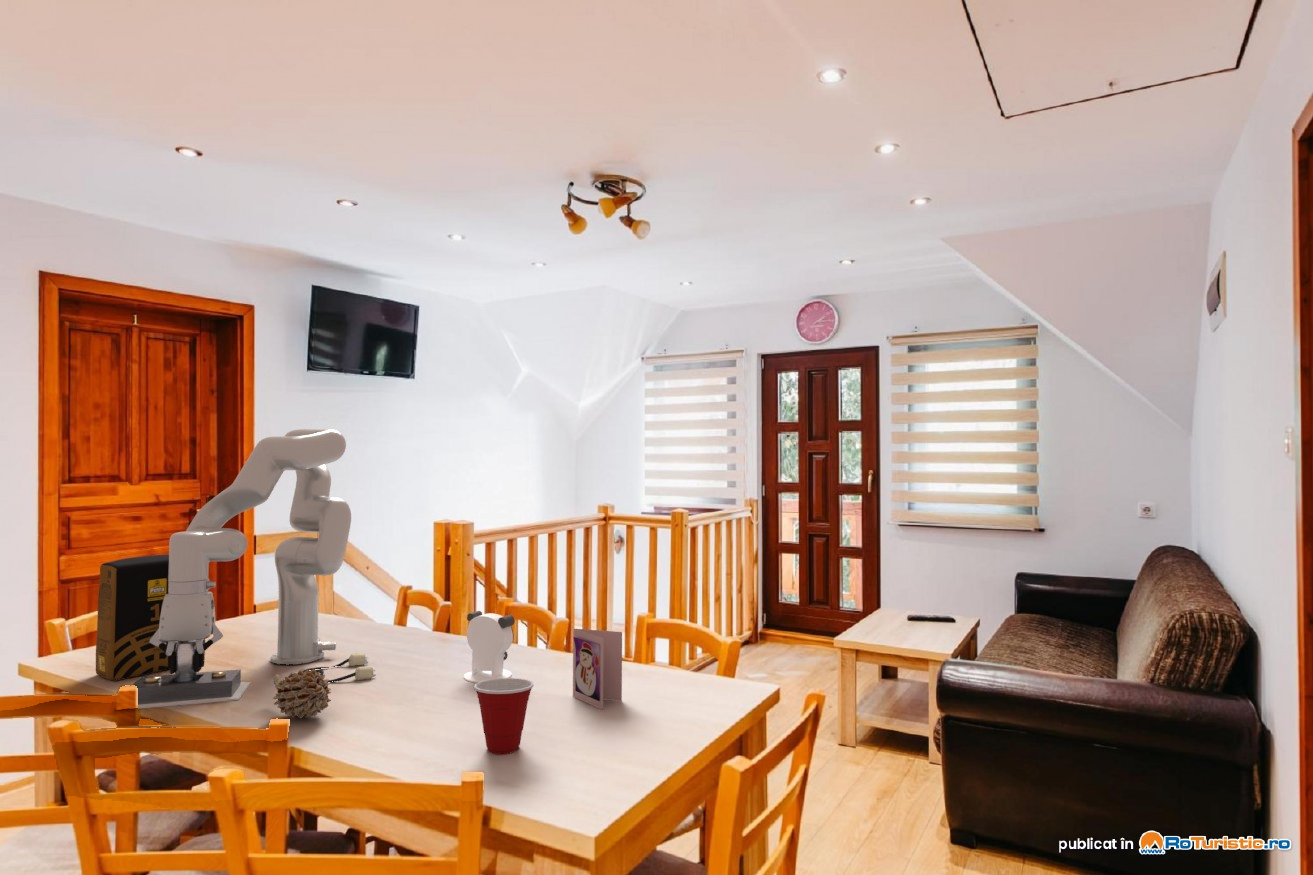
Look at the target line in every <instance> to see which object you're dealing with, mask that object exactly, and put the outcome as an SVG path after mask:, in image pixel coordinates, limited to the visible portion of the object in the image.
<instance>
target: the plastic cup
mask: <svg viewBox="0 0 1313 875" xmlns="http://www.w3.org/2000/svg"><path fill="white" fill-rule="evenodd" d="M534 686H535V684H534V681H531V680H529V679H525V678H524V679H523V678H516V677H515V678H513V677H510V678H500V679H491V680H485V681H481V682H478V683H475V684H474V686H473V688H474V690H475V692H476V695H477V698H478V704H479V708H480V715H481V722H482V729H483V733H484V739H485V745H486V749H487V751H488V752H489V753H490V754H493V755H508V754H509V755H510V754H512V753H515V752H517V751H518V749H520V745H521V741H522V740H521V739H522V734H523V731H524V726H525V719H526V713H527V707H528V702H529V700H530V695H531V691H532V688H534Z"/></svg>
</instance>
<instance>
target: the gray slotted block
mask: <svg viewBox="0 0 1313 875" xmlns="http://www.w3.org/2000/svg"><path fill="white" fill-rule="evenodd" d="M241 674H242V669H240V668H239V669H228V670H217V671H216V670H214V671H212V670H211V671H201V672H200V671H199V672H197V677H196V679H194V680H190V681H184V682H178V681H175V673H174V674H161V675H158V674H157V675H148V676H145V675H144V676H140V677H139V678H138V679H137V680H136V681H135V682H133V683H132V684H131V685H135V686H137V688H138V705H140V704H152V703H164V702H176V701H188V700H199V699H211V698H223V697H232V696H233V694H234V693H235V692H236V690H237V689H238V687H239V686H240V685H241V683H242V682H241V678H242V677H241Z"/></svg>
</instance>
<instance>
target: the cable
mask: <svg viewBox="0 0 1313 875" xmlns="http://www.w3.org/2000/svg"><path fill="white" fill-rule="evenodd" d="M368 659H369V657H368V656H366V654H365V653H352V654H350V655H349V657H348V658H347V659H345V660H343V661H342V662H339V663H337V664H336V665H333V666H332V667H335V666H340V667H342V666H343V665H345V664H347V663H348V665H349V667H356V666H355V665H362V666H357V667H356V669H355V671H354V672H352V673H350V674H347V675H344V676H341V677H337V678H334V679H328V680H329V681H328V682H332V681H333V682H334V681H338V682H341V681H344V680H347V679H349V678H353V677H354V678H355V680H356V681H365V680H364V679H366V680H371V679H370V678H372V679H373V678H374V677H375V678H376V676H377V674H376V673H374V672H376V669H374V668H373V666H372V665H371V666H365V664H369V660H368ZM329 667H330V666H318V667H317V666H316V667H311V668H310V667H309V668H306V669H303V670H302V671H303V672H305V671H306V670H313V669H321V668H329ZM316 672H320V675H321V676H323V675H325V674H324V673H325V671H324V670H316ZM334 683H335V682H334Z"/></svg>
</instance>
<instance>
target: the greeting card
mask: <svg viewBox="0 0 1313 875" xmlns="http://www.w3.org/2000/svg"><path fill="white" fill-rule="evenodd" d="M572 630H573V632H572V633H573V636H572V638H573V639H572V640H573V642H572V645H573V647H572V648H573V649H572V697H573V698H575V699H578V700H581V701H582V702H585V703H586V704H589V705H591V706H594V707H595V706H596V708H597V709H601V710H603V711H604V700H606V701H608V700H609V701H610V700H611V701H617V702H622V700H623V698H622V697H623V696H622V694H623V688H622V687H623V686H622V685H623V632H622V631H615V630H614V631H613V630H599V629H587V628H586V629H585V628H573V629H572Z"/></svg>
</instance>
